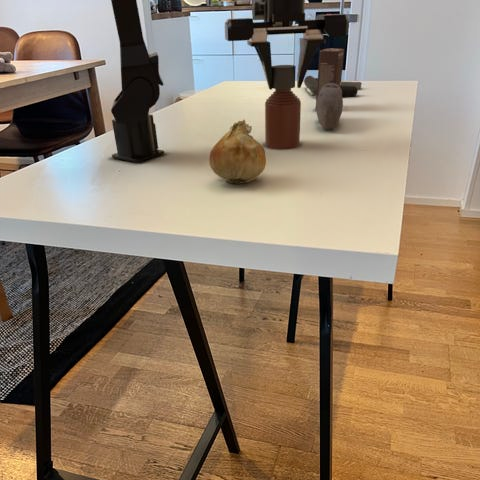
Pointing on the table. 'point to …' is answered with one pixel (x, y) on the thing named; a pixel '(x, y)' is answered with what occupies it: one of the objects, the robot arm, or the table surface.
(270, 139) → the bottle
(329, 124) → the perforated stone tool
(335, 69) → the box
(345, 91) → the door handle
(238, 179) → the onion
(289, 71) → the cap
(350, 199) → the table surface
